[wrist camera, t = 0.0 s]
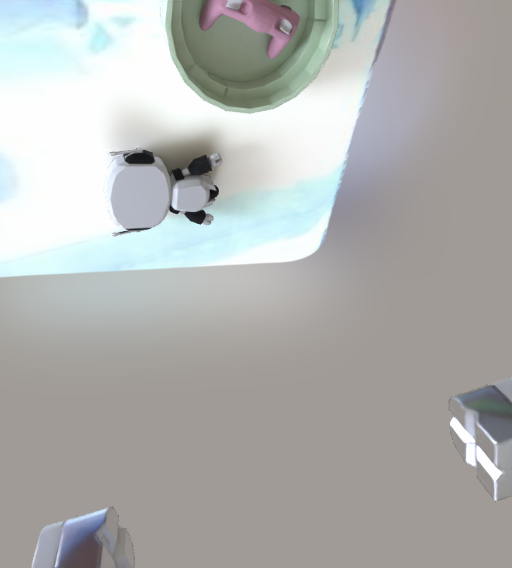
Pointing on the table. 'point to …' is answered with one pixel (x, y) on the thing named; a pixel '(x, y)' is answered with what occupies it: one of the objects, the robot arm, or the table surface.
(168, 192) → the robot toy
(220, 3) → the video game controller
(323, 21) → the bowl
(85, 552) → the robot arm
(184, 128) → the table surface
